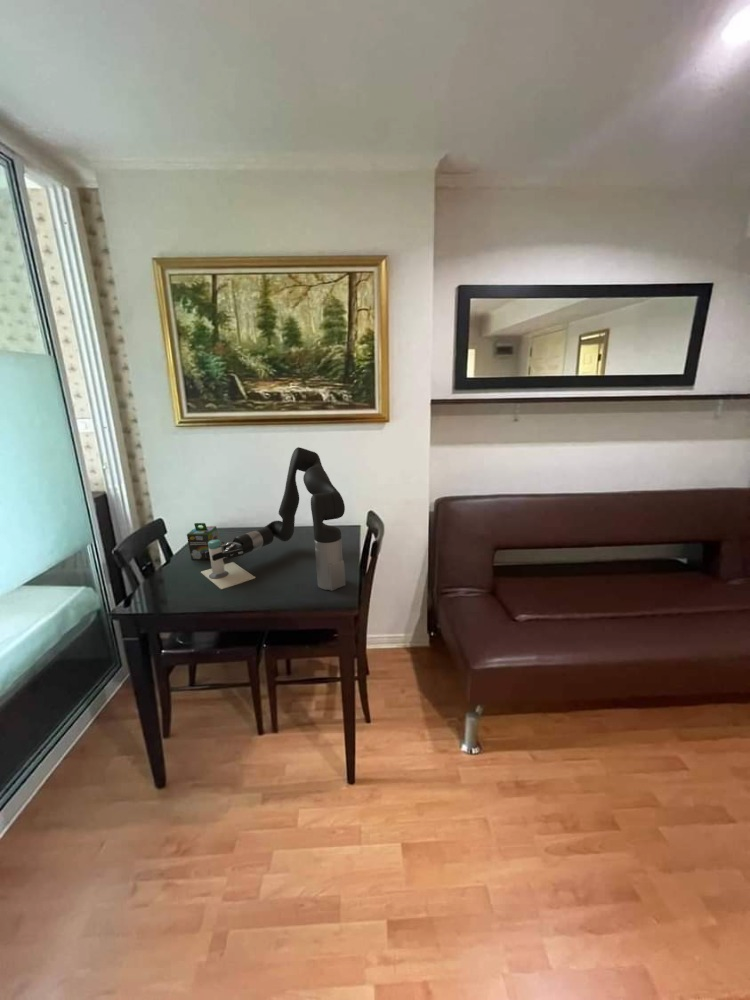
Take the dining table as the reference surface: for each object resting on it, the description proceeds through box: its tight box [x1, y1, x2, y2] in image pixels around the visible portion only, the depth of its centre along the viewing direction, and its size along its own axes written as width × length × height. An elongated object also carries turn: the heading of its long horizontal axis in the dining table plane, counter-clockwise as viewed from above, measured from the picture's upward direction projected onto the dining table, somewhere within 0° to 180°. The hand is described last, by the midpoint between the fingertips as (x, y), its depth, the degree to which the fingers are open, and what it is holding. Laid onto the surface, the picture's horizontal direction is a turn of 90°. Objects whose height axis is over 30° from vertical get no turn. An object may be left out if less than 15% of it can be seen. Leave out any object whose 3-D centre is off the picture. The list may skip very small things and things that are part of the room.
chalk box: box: [186, 522, 219, 560], centre depth 183 cm, size 9×9×15 cm
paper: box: [200, 561, 256, 590], centre depth 165 cm, size 20×13×1 cm, turn 41°
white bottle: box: [208, 539, 225, 574], centre depth 163 cm, size 4×4×12 cm
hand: (209, 556), depth 161 cm, fingers closed on white bottle, 4 cm apart
